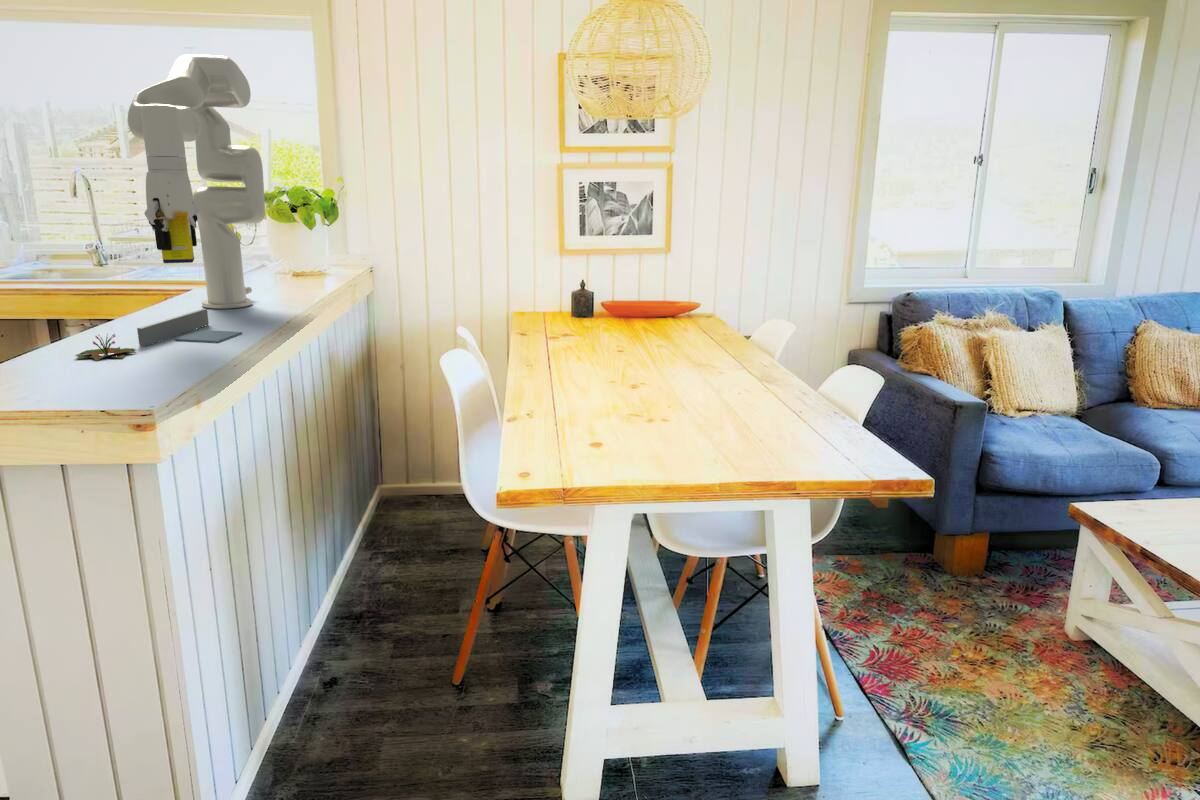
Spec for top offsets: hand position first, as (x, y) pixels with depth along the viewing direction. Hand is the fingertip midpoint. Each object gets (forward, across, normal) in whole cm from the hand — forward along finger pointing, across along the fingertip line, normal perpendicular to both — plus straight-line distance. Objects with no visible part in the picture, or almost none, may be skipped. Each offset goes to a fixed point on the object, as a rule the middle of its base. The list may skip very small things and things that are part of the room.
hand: (177, 247), depth 176 cm
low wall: (+20, 0, -3) cm, 20 cm away
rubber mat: (+20, 0, +5) cm, 21 cm away
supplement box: (+3, 0, 0) cm, 3 cm away
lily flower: (+21, +20, -5) cm, 29 cm away
